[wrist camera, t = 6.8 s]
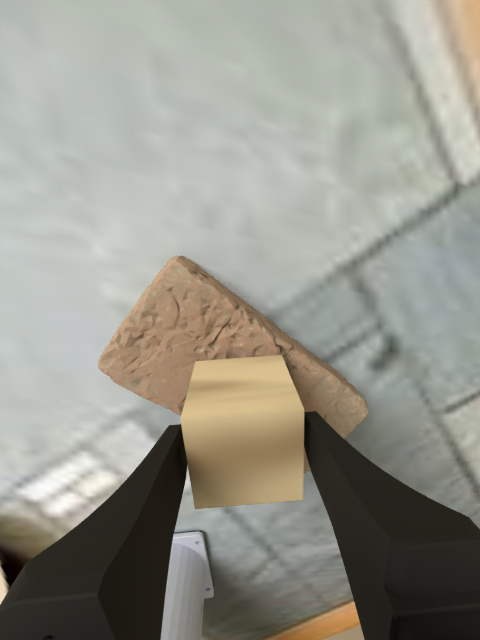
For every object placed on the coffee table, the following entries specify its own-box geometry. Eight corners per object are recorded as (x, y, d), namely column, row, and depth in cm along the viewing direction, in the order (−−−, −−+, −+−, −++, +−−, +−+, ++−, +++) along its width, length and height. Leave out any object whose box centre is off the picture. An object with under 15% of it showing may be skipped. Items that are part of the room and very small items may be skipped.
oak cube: (282, 425, 17) (302, 500, 12) (204, 431, 17) (195, 508, 12) (281, 354, 16) (304, 409, 11) (195, 361, 15) (180, 419, 11)
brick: (353, 378, 22) (384, 417, 17) (284, 446, 23) (297, 496, 19) (182, 247, 18) (166, 252, 14) (117, 338, 20) (85, 369, 15)
